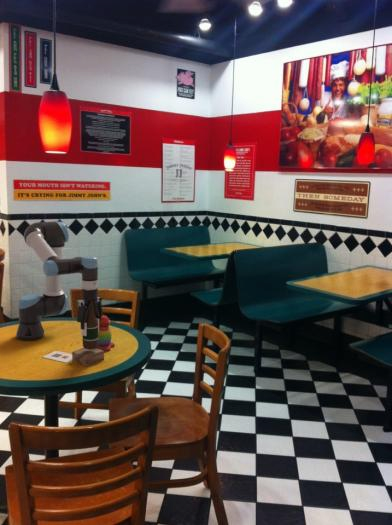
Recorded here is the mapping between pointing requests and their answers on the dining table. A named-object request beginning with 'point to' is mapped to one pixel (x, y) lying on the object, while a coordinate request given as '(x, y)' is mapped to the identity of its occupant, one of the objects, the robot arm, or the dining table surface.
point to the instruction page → (59, 356)
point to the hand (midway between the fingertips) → (90, 333)
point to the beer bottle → (91, 330)
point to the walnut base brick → (87, 356)
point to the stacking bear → (105, 334)
